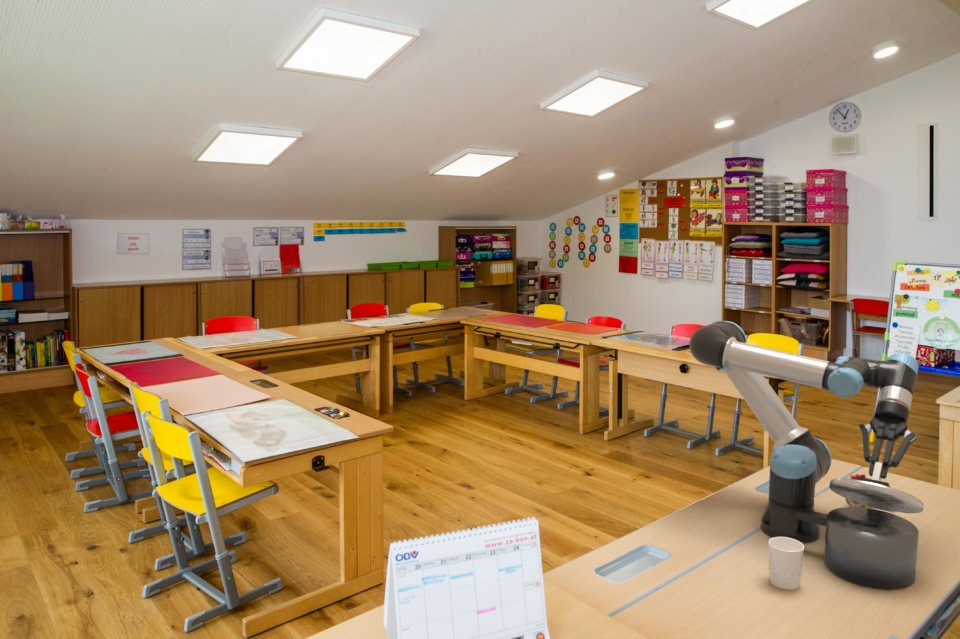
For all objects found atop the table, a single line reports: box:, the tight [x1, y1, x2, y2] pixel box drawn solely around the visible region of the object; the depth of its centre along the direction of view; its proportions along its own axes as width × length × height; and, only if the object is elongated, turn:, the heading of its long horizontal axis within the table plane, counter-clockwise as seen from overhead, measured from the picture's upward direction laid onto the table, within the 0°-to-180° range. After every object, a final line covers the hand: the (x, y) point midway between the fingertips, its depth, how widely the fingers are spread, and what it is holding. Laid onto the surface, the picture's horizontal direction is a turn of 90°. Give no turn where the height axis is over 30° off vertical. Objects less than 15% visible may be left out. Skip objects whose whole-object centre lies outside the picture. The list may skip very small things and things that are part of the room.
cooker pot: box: [795, 506, 920, 591], centre depth 179 cm, size 28×20×12 cm
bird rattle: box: [844, 473, 871, 509], centre depth 213 cm, size 6×11×9 cm
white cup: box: [768, 537, 805, 591], centre depth 171 cm, size 8×8×10 cm
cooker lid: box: [828, 476, 925, 514], centre depth 177 cm, size 21×21×4 cm
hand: (874, 488), depth 175 cm, fingers closed
